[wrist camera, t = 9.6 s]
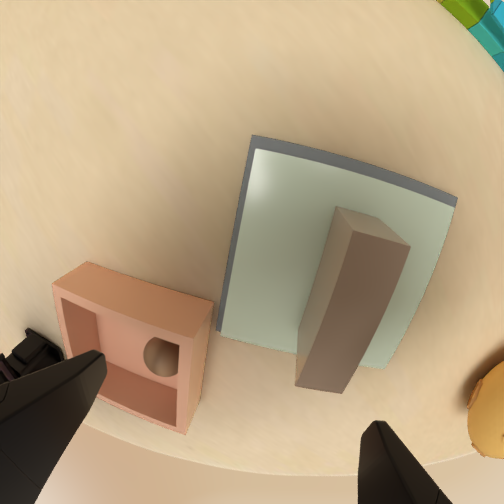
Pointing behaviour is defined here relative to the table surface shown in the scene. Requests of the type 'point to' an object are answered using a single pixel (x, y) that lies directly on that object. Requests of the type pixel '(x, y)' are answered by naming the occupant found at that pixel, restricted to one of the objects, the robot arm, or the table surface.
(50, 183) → the table surface
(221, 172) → the table surface
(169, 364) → the ball
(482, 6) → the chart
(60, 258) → the table surface
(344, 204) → the lid
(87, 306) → the dish
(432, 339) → the table surface
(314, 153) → the mat
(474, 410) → the stress ball
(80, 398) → the robot arm
